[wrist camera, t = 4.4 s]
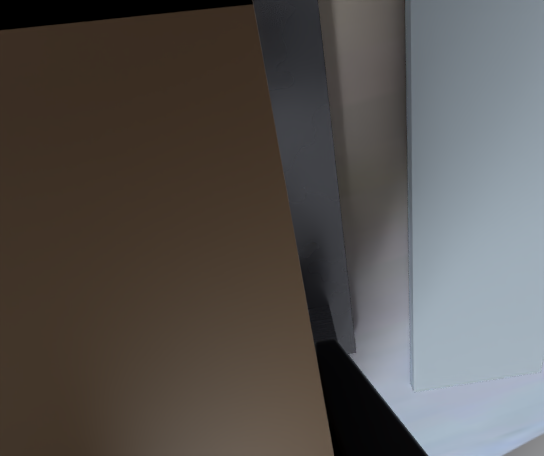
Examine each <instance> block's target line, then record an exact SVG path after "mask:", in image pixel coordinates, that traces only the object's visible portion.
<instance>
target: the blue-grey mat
mask: <svg viewBox="0 0 544 456" xmlns="http://www.w3.org/2000/svg"><path fill="white" fill-rule="evenodd" d="M405 30H406V101H407V172H408V243H409V314H410V384H411V386H412V389H413V392H414V393H415V392H421V391H428V390H434V389H440V388H446V387H453V386H459V385H465V384H471V383H478V382H484V381H490V380H497V379H503V378H509V377H515V376H522V375H528V374H534V373H540V372H541V369H542V364H543V360H544V0H405Z"/></svg>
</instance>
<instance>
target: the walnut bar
mask: <svg viewBox="0 0 544 456" xmlns="http://www.w3.org/2000/svg"><path fill="white" fill-rule="evenodd" d="M0 456H334V452H333V446H332V441H331V435H330V430H329V424H328V419H327V413H326V407H325V402H324V396H323V390H322V385H321V379H320V374H319V368H318V362H317V357H316V351H315V345H314V340H313V334H312V329H311V323H310V317H309V312H308V306H307V301H306V295H305V289H304V284H303V278H302V273H301V267H300V261H299V256H298V250H297V245H296V239H295V233H294V228H293V222H292V217H291V211H290V206H289V200H288V194H287V189H286V183H285V178H284V172H283V166H282V161H281V155H280V150H279V144H278V138H277V133H276V127H275V122H274V116H273V110H272V105H271V99H270V94H269V88H268V82H267V77H266V71H265V66H264V60H263V54H262V49H261V43H260V38H259V32H258V26H257V21H256V15H255V10H254V4H253V0H0Z"/></svg>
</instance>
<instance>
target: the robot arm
mask: <svg viewBox="0 0 544 456" xmlns="http://www.w3.org/2000/svg"><path fill="white" fill-rule="evenodd" d="M314 345H315V351H316V357H317V362H318V368H319V374H320V379H321V385H322V390H323V396H324V402H325V407H326V413H327V419H328V424H329V430H330V435H331V441H332V446H333V452H334V456H428V455H427V454H426V452H425V451H424V450H423V448H422V447H421V446H420V445H419V443H418V442H417V441H416V440H415V438H414V437H413V436H412V435H411V433H410V432H409V431H408V429H407V428H406V427H405V426H404V424H403V423H402V422H401V421H400V419H399V418H398V417H397V416H396V414H395V413H394V412H393V411H392V409H391V408H390V407H389V405H388V404H387V403H386V402H385V400H384V399H383V398H382V397H381V395H380V394H379V393H378V392H377V390H376V389H375V388H374V386H373V385H372V384H371V383H370V381H369V380H368V379H367V378H366V376H365V375H364V374H363V373H362V371H361V370H360V369H359V368H358V366H357V365H356V364H355V362H354V361H353V360H352V359H351V357H350V356H349V355H348V354H347V352H346V351H345V350H344V349H343V347H342V346H341V345H340V343H339V342H338V341H337V340H335V339H328V340H322V341H317V342H315V343H314Z"/></svg>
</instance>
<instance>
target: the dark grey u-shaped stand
mask: <svg viewBox="0 0 544 456" xmlns="http://www.w3.org/2000/svg"><path fill="white" fill-rule="evenodd" d="M253 4H254V10H255V15H256V21H257V26H258V32H259V38H260V43H261V49H262V54H263V60H264V66H265V71H266V77H267V82H268V88H269V94H270V99H271V105H272V110H273V116H274V122H275V127H276V133H277V138H278V144H279V150H280V155H281V161H282V166H283V172H284V178H285V183H286V189H287V194H288V200H289V206H290V211H291V217H292V222H293V228H294V233H295V239H296V245H297V250H298V256H299V261H300V267H301V273H302V278H303V284H304V289H305V295H306V301H307V306H308V312H309V317H310V323H311V329H312V334H313V340H314V343H315V342H317V341H322V340H328V339H335V340H337V341H338V342H339V343H340V345H341V346H342V347H343V349H344V350H345V351H346V352H347V354H349V353H356V347H355V338H354V328H353V319H352V310H351V301H350V292H349V282H348V273H347V264H346V255H345V246H344V236H343V227H342V218H341V209H340V200H339V190H338V181H337V172H336V163H335V154H334V145H333V135H332V126H331V117H330V108H329V99H328V89H327V80H326V71H325V62H324V53H323V43H322V34H321V25H320V16H319V7H318V0H253Z"/></svg>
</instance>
